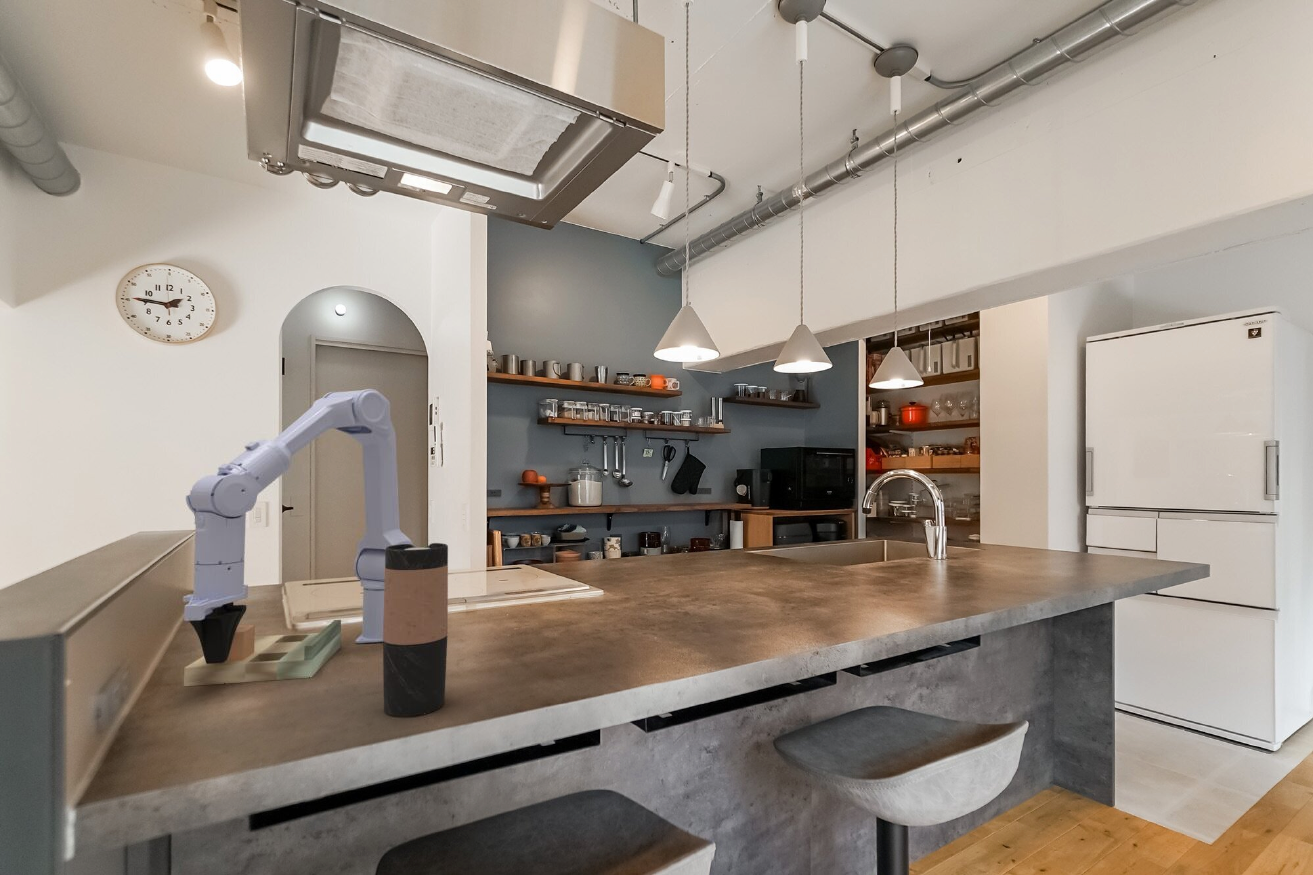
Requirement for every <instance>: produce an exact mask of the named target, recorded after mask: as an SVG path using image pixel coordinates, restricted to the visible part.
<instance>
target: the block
mask: <svg viewBox="0 0 1313 875" xmlns="http://www.w3.org/2000/svg"><path fill="white" fill-rule="evenodd" d="M255 635H256V625H255V624H253V625H252V624H251V625H250V624H249V625H238V627H237V629H236V632H235V635H234V638H233V642H232V645H231V649H230V653H229V656H228V659H227V660H226V661H240V660H244V659H246V658H247V657H249V656H250V655H251V654H253V653H254V644H255Z"/></svg>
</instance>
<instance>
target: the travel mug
mask: <svg viewBox="0 0 1313 875" xmlns="http://www.w3.org/2000/svg"><path fill="white" fill-rule="evenodd" d="M448 577H449V546H448V544H446V543H441V542H433V543H430V544H429V545H427V546H424V547H422V546H421V547H416V546H414V545H413V544H412V545H411V544H399V545H392V546H388V547H386V551H385V584H384V618H383V642H382V662H383V663H382V668H383V670H382V672H383V673H382V674H383V677H382V678H383V679H382V680H383V710H384V713H385V714H386V715H388V716H392V717H396V718H397V717H398V718H411V716H412V717H417V716H416V715H419V716H422V715H421V714H424V713H428V714H431V713H432V712H431V711H433V712H436V711H437V709H438V708H439V709H441V708H442V707H443V706H444V704H445V699H446V698H445V697H446V678H447V657H448V656H447V655H448V654H447V652H448V628H449V627H448V624H449V622H448V620H449V619H448V617H449V616H448V614H449V613H448V611H449V610H448V608H449V604H448V598H449V597H448V596H449V594H448V593H449V591H448V590H449V586H448V585H449V583H448V582H449V579H448ZM442 705H443V706H442ZM441 706H442V707H441ZM440 707H441V708H440ZM439 709H438V710H439ZM435 710H436V711H435ZM430 712H431V713H430ZM424 715H425V714H424Z"/></svg>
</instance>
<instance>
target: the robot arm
mask: <svg viewBox="0 0 1313 875" xmlns="http://www.w3.org/2000/svg"><path fill="white" fill-rule="evenodd" d="M330 429H334V430H336V431H338V432H342V433H345V434H347V435H349V436H350V437H351V438H353V440H356V441H357V442H358V443H359V444H360V445H361V447H362V464H363V465H362V468H363V489H364V490H363V492H364V510H365V511H364V512H365V513H364V514H365V530H366V531H365V534H364V536H362V537H361V539H360V540H359V541H358V542H357V543H356V545H357V546H356V547H357V551H356V556H355V559H354V561H353V572H354V575H355V577H356V578H357V579H358V580H359V581H360V587H363V589H362V630H361V631H362V633H361V634H360V635H359V636H358V637H357V638H356V639H355V644H366V643H381V642H382V643H383V618H384V584H385V551H386V547H388V546H392V545H399V544H411V545H413V541H412V540H411V539H410V538H409V537H408V536H407V535H406V534H405V533H404V532H402V530H400V529H401V528H400V526H401V525H400V509H399V508H400V506H399V505H400V503H399V485H398V484H399V482H398V463H397V460H398V459H397V458H398V457H397V438H396V430H395V427H394V424H393V421H392V419H391V402H390V401H389V400H388V399H387V398H386V397H385V396H384V395H383V394H382V393H380V392H379V391H378V390H376V389H374V388H373V389H372V388H366V389H363V390H361V389H360V390H351V391H350V390H349V391H330V392H328V393H325V394H324V395H323V396H322V398H319V399H316V400H314V402H313V404H312V406H311V407H310V408H309V409H308V410H307V411H305V412H304V413H303V414H302V415H301V416H300V417H298V419H296V420H295V421H294V422H293V423H291V424H290V425H289V426H288V427H286V429H285V430H284V431H282V432H281V433H280V434H279V435H278V436H276V437H275V438H274V439H273V440H268V439H261V440H258V441H249V443H247V444H246V445H244V449H246V450H245V451H243V452H242V453H241V454H239V455H238V456H237V457H235V458H233V460H231V461H230V462H228V463H222V464H220V466H218V467H217V470H218V471H217V473H216V474H215V475H206V476H204V477H201V478H200V479H198V480H197V481H196V482H195V483H194V484H193V485H192V487H191V489H190V492H189V494H187V495H185V502H186V505H187V507H188V509H189V511H191V512H192V514H193V515H194V525H195V529H194V530H195V531H194V532H195V534H194V535H195V536H194V559H193V560H194V561H193V562H194V563H193V564H194V565H193V566H194V568H193V593H190V594H187V595H184V596H183V597H182V599H183V600H182V601H183V602H184V603H187V602H188V603H187V604H185V605H184V611H183V612H184V613H183V614H184V615H183V620H184V622H189V623H190V625H191V626H192V628H193V629H194V631H195V632H196V634H197V636H198V639H199V642H200V646H201V650H202V653H203V656H204V658H205V661H206V664H215V663H223V662H225V661H226V660H227V659H228V656H229V653H230V649H231V645H232V642H233V638H234V635H235V632H236V629H237V627H238V626H239V624H240V622H241V620H242V619H243V616H244V615H245V614H246V611H247V605H245V604H234V602H238V601H242V600H244V599H247V598H248V596H249V595H248V593H249V589H248V588H249V584H245V553H246V552H245V550H246V521H247V520H246V519H247V518H246V516H247V513H248V512H250V511H252V510H253V508H254V506H255V505H256V503H257V499H258V496H259V494H260V493H262V491H264V490H265V489H266V488H267V487H268V486H270V485H271V484H272V483H273V482H274V481H276V480H277V479H279V477H281V476H282V475H283V474H285V473H286V472H287V471H288V470H289V469H290V467H291V457H292V456H294V455H295V454H297V453H298V452H299V451H301V450H302V449H303V448H304V447H306V446H307V445H309V444H310V443H312V442H313V441H315V440H316V439H317V438H318V437H320V436H321V435H323V434H325V433H326V432H327V431H328V430H330Z"/></svg>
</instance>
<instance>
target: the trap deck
mask: <svg viewBox="0 0 1313 875" xmlns="http://www.w3.org/2000/svg"><path fill="white" fill-rule="evenodd" d="M341 632H342V619H335V620H334V619H333V621H332V622H331V623H329V624H328V625H327V626H326V627H325V628H323V629H322V630H321V631H320V632H313V633H311V632H310V633H297V634H295V633H294V634H291V633H290V634H277V635H263V636H262V635H259V636H258V635H257V636H255V644H254V653H253V654H251V655H250V656H249V657H247V658H246V659H244V660H240V661H225V662H223V663H215V664H206V661H205V658H204V655H203V656H201V657H200V658H198V659H197V660H194V661H193V662H191V663H190V664H188V665H186V666H184V672H183V687H193V686H210V685H222V684H223V685H224V683H225V684H236V683H237V684H238V683H251V682H266V681H279V680H280V681H281V680H296V679H308V678H309V677H310V679H311V678H312V677H314V676H315V674H316V673H317V672H318V671H319V670H320V669H321V668H322V667H323V666H324V665H325V664H326V663H327V662H328V661H329V660H330V659H331V658H332V656H334V654H336V652H337V651H338V650H339V649H341V645H342V644H341V640H342V638H341V635H342V633H341Z"/></svg>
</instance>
